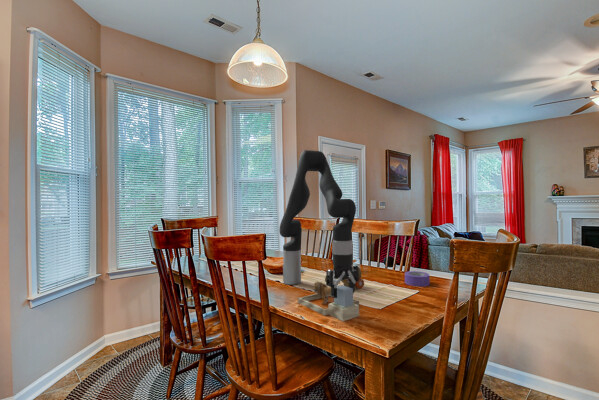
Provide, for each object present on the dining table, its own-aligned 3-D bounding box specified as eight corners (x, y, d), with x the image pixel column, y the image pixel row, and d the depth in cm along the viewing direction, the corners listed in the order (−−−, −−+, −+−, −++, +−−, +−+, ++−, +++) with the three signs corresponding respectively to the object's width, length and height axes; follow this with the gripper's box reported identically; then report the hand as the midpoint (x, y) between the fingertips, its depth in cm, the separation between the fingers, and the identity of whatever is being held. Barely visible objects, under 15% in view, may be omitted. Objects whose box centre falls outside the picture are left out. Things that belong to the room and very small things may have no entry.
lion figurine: (313, 305, 126) (309, 283, 127) (320, 301, 130) (316, 280, 131) (343, 305, 117) (338, 281, 118) (349, 301, 121) (345, 278, 122)
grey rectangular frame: (297, 302, 127) (297, 292, 127) (330, 294, 137) (330, 285, 137) (338, 322, 105) (338, 310, 105) (374, 311, 115) (373, 300, 115)
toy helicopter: (366, 287, 147) (365, 259, 147) (331, 294, 137) (330, 264, 137) (355, 283, 154) (355, 257, 154) (321, 290, 144) (320, 261, 144)
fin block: (334, 302, 113) (333, 286, 113) (342, 300, 116) (341, 285, 116) (345, 307, 108) (344, 290, 108) (353, 304, 111) (352, 288, 111)
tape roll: (433, 286, 147) (433, 276, 147) (409, 287, 147) (409, 276, 147) (424, 280, 159) (423, 270, 159) (401, 280, 159) (401, 271, 159)
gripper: (349, 248, 119) (350, 289, 119) (321, 252, 112) (322, 296, 111) (363, 251, 113) (364, 294, 113) (334, 255, 105) (335, 302, 105)
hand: (343, 295), depth 112 cm, fingers open, 8 cm apart
